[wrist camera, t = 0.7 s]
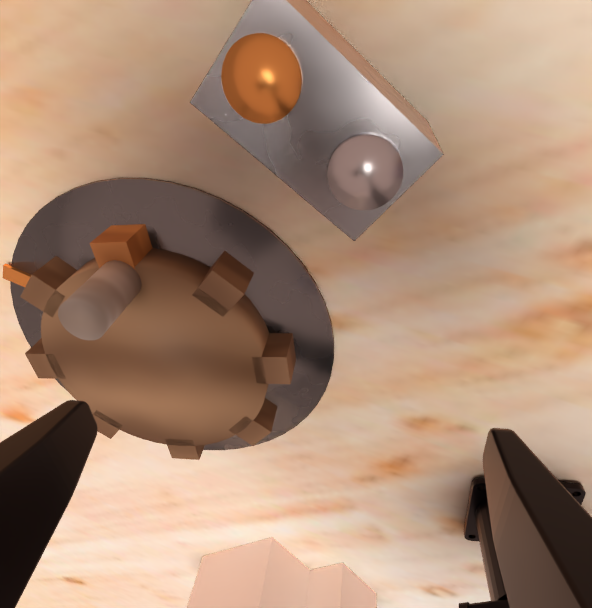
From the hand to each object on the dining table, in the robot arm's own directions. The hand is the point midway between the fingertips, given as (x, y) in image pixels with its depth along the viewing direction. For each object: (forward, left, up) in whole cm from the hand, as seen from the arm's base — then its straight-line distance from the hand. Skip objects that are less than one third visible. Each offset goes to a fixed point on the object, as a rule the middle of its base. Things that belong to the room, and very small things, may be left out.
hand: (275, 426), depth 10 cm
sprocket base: (-7, +10, -13) cm, 18 cm away
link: (+5, 0, -13) cm, 14 cm away
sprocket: (-7, +10, -13) cm, 18 cm away
